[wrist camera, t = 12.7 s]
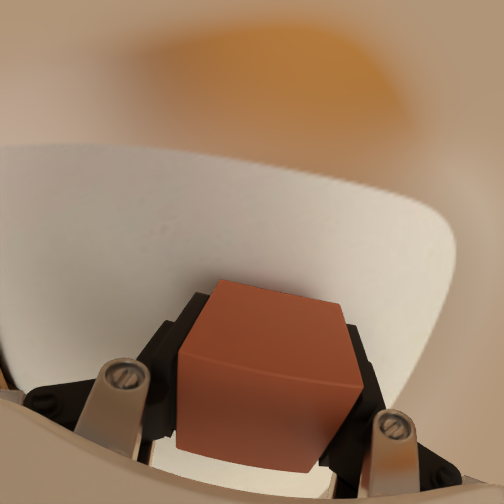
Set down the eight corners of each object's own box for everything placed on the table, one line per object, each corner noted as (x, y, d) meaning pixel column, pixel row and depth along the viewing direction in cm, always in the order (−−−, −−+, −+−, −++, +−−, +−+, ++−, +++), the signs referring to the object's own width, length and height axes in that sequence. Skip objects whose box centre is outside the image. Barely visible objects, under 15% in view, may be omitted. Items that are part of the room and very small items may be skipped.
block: (206, 369, 11) (175, 448, 7) (219, 278, 10) (176, 350, 6) (307, 390, 11) (308, 474, 7) (340, 303, 10) (365, 386, 6)
